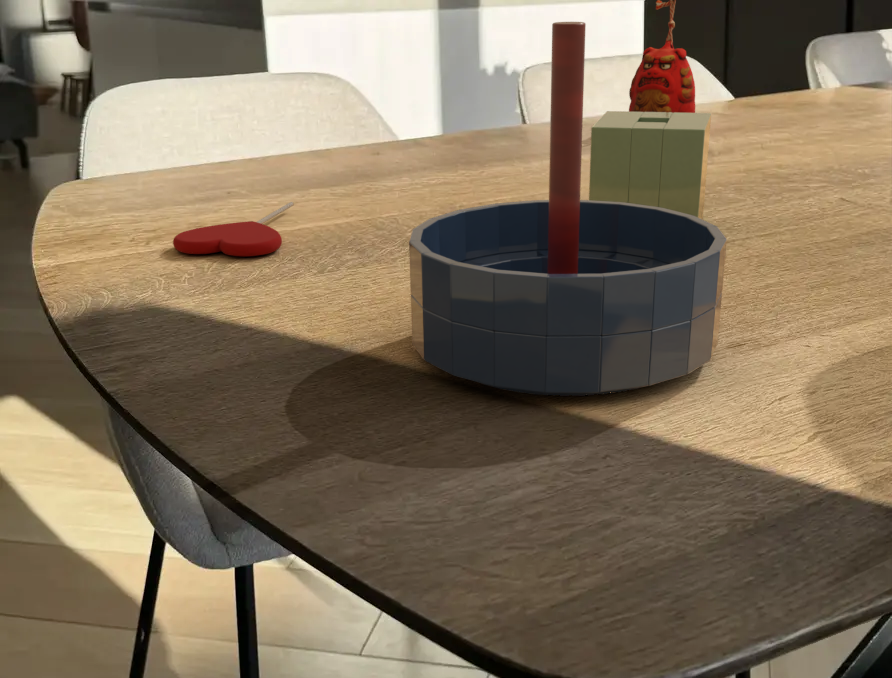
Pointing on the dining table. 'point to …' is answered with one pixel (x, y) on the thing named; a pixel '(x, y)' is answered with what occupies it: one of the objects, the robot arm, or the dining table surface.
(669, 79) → the red clay folk toy
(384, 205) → the dining table surface
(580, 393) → the bowl
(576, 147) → the stirring stick
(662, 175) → the block
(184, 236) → the lollipop
